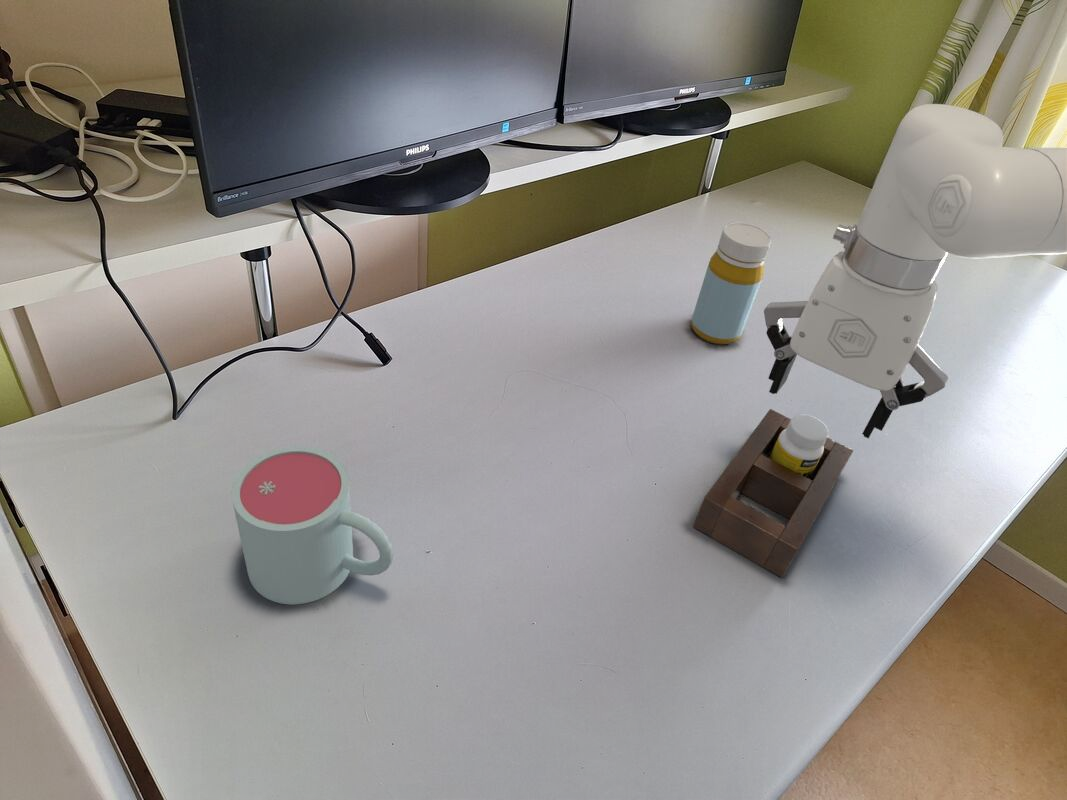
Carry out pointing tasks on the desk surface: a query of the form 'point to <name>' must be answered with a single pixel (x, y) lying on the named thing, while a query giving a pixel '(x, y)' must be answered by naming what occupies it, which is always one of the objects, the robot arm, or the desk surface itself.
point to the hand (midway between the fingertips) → (821, 408)
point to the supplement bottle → (801, 444)
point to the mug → (300, 525)
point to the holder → (768, 498)
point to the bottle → (731, 283)
